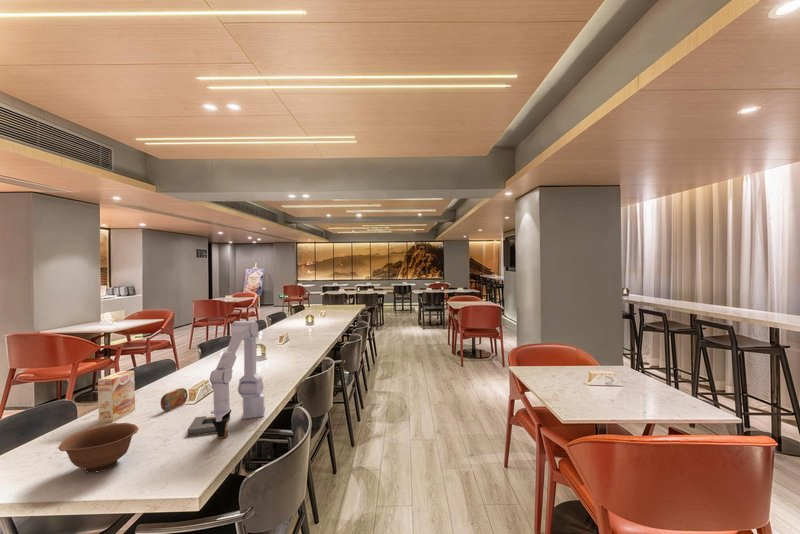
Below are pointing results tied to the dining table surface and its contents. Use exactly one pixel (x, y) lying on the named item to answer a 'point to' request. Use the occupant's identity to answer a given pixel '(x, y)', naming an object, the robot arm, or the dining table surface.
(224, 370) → the robot arm
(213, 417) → the plate
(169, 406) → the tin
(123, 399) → the coffeecake box
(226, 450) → the dining table surface
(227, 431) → the peg
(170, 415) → the dining table surface
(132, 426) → the bowl
